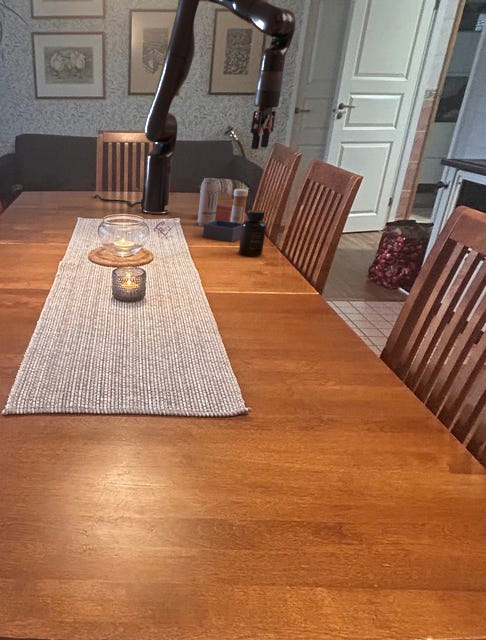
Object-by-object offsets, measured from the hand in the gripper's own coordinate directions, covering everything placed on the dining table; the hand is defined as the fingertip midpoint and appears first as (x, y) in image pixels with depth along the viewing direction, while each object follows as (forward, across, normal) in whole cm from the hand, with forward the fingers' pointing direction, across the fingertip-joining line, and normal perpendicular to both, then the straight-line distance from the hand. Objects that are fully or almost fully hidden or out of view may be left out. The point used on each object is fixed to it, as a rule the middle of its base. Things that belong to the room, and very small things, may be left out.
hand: (259, 148), depth 191 cm
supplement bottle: (+26, +32, +13) cm, 43 cm away
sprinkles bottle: (+26, +4, -2) cm, 26 cm away
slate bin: (+26, +14, -2) cm, 29 cm away
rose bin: (+26, -14, -15) cm, 33 cm away
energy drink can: (+26, 0, -15) cm, 30 cm away
